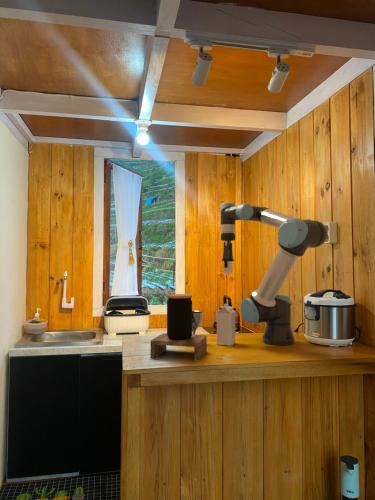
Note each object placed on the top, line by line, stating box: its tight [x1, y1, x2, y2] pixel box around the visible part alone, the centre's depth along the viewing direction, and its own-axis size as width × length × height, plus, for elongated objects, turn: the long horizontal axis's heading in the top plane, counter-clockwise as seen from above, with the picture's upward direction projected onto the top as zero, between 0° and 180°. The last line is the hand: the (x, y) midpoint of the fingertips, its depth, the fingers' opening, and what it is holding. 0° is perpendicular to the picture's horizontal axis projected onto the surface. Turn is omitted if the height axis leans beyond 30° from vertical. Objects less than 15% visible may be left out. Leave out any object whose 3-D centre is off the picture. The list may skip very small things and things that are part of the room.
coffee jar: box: [166, 293, 193, 340], centre depth 157 cm, size 11×11×18 cm
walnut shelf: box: [149, 332, 208, 362], centre depth 156 cm, size 20×16×7 cm
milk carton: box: [216, 302, 236, 347], centre depth 177 cm, size 7×7×19 cm
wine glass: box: [192, 310, 203, 335], centre depth 177 cm, size 8×8×15 cm
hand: (228, 274), depth 192 cm, fingers open, 13 cm apart
